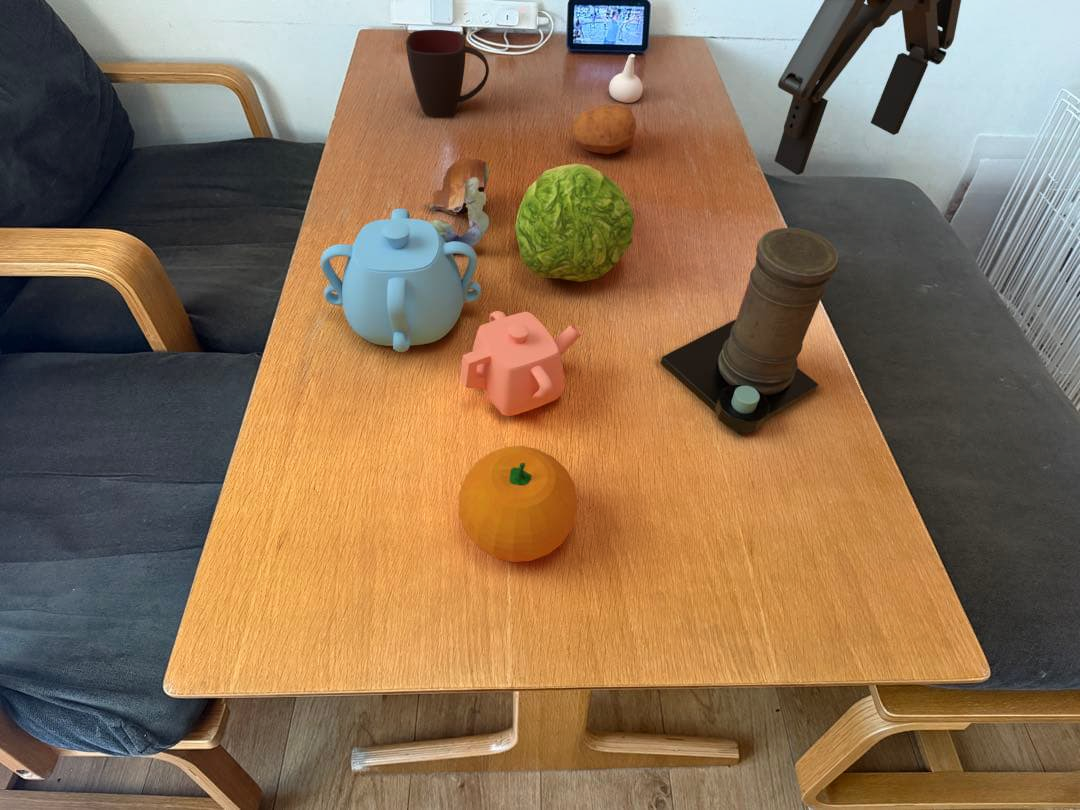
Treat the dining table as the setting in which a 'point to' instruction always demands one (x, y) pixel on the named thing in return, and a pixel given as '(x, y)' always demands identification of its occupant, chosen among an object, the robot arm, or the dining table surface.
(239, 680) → the dining table surface
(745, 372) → the container
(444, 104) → the mug
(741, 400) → the button
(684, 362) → the scale
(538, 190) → the lettuce
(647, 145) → the dining table surface
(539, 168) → the dining table surface
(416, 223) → the decorative pot
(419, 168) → the dining table surface
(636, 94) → the garlic bulb
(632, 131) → the potato
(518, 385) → the teapot
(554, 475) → the fruit
